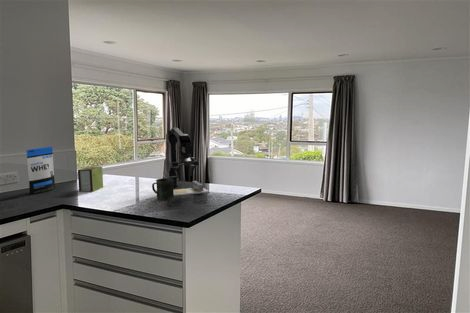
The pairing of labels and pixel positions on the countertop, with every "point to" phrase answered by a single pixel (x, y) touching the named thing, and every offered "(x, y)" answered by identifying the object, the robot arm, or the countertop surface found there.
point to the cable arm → (197, 185)
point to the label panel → (188, 191)
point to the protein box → (90, 179)
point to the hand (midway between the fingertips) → (184, 176)
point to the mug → (164, 189)
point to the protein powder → (40, 170)
